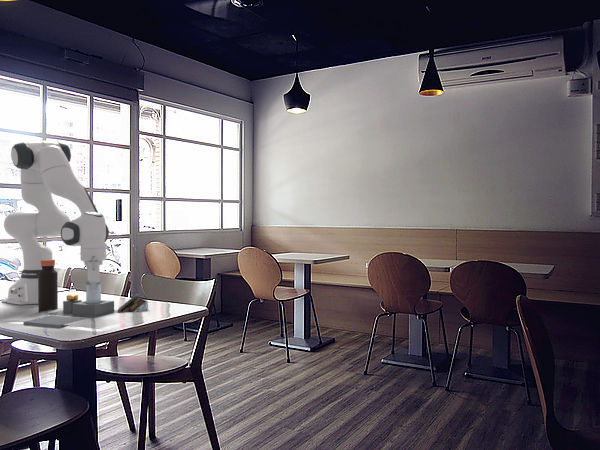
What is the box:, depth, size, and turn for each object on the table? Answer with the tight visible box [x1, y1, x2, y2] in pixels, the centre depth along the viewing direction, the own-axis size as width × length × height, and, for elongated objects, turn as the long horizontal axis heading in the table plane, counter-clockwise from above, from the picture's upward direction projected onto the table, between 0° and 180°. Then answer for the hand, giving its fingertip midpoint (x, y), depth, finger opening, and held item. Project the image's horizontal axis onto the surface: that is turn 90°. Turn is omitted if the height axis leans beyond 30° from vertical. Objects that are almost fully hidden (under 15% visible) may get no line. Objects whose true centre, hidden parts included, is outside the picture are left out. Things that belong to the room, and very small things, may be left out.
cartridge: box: [85, 279, 102, 304], centre depth 191 cm, size 5×5×12 cm
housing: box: [46, 299, 118, 319], centre depth 192 cm, size 22×16×5 cm
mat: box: [23, 315, 88, 329], centre depth 178 cm, size 16×12×1 cm
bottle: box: [37, 259, 59, 313], centre depth 199 cm, size 7×7×20 cm
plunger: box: [66, 294, 79, 302], centre depth 194 cm, size 4×4×6 cm
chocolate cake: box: [117, 292, 149, 313], centre depth 197 cm, size 10×7×12 cm
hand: (93, 292), depth 190 cm, fingers closed on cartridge, 5 cm apart
